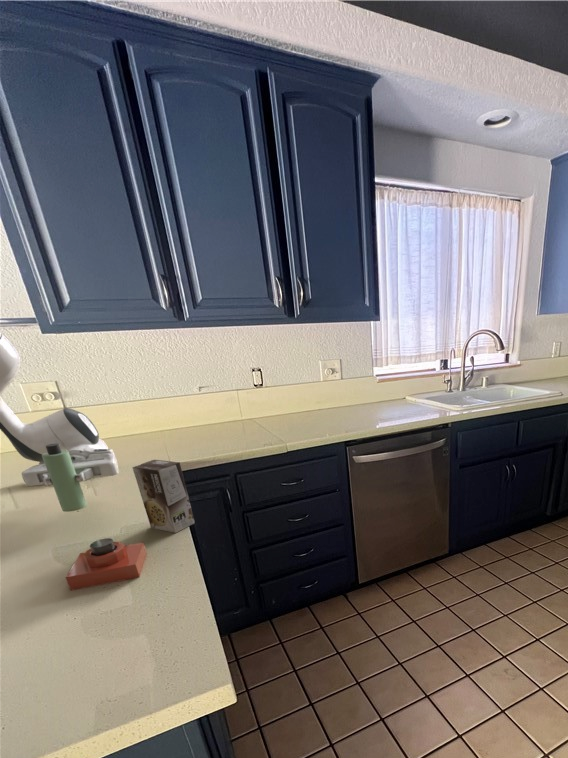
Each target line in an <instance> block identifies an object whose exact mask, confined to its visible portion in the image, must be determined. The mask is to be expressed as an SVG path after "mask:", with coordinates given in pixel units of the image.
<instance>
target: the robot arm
mask: <svg viewBox="0 0 568 758" xmlns="http://www.w3.org/2000/svg"><path fill="white" fill-rule="evenodd" d="M20 369H21V357H20V353H19V351H18V350H17V349H16V347H15V346H14V344H13V343H12V342H11V341H10V340H9V339H8V338H7V337H6V336H5V335H4V334H3V333H2V332H1V331H0V431H1V432H2V433H3V434H4V436H5V437H6V438H7V439H8V440H9V442H10V443H11V444H12V446H13V448H14V449H15V451H16V452H17V453H19V455H20V456H21V457H22V458H24V459H26V460H28V461H31V462H38V464H36V465H32V466H31V467H28V468H26V469H24V470H23V471H21V478H22V481H23V482H24V484H25V485H26V486H29V487H33V486H40V485H45V486H51V485H52V486H53V484H52V481H51V479H50V476H49V474H48V471H47V468H46V466H45V464H39V462H44V460H43V458H42V455H43V454H45V453H48V452H47V449H46V445H49V444H59V446H60V449H61V450H67V451H68V452H69V454H70V457H71V460H72V463H73V466H74V469H75V471H76V474H75V478H76V481H77V482H78V481H79V483H80V482H82V483H83V482H89V481H91V480H92V479H98V478H104V477H113V476H116V475H118V474H119V473H120V469H119V464H118V460H117V457H116V455H115V453H114V449H112V448H111V449H110V448H109V447H108V445H107V443H106V442H105V441H104V440H103V439H101V438H100V434H99V431H98V429H97V427H96V426H95V424H94V422H92V420H91V419H90V418H89V417H88V416H87V415H85V413H82V412H81V411H78V410H76V409H74V408H69V407H64V408H62V409H60V410H57V411H55V412H52V413H50V414H49V415H47V416H44V417H42V418H39V419H37V420H35V421H33V422H29V423H25V422H23V421H21V419H19V417H18V416H17V415H16V413H15V412H14V411H13V410H12V409H11V408H10V407H9V405H8V404H7V403H6V401H4V399H3V397H2V394H3V393H4V391H6V389H7V388H8V387H9V386H10V384H11V383H13V381H14V380H15V379H16V377H17V376H18V373H19V372H20Z"/></svg>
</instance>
